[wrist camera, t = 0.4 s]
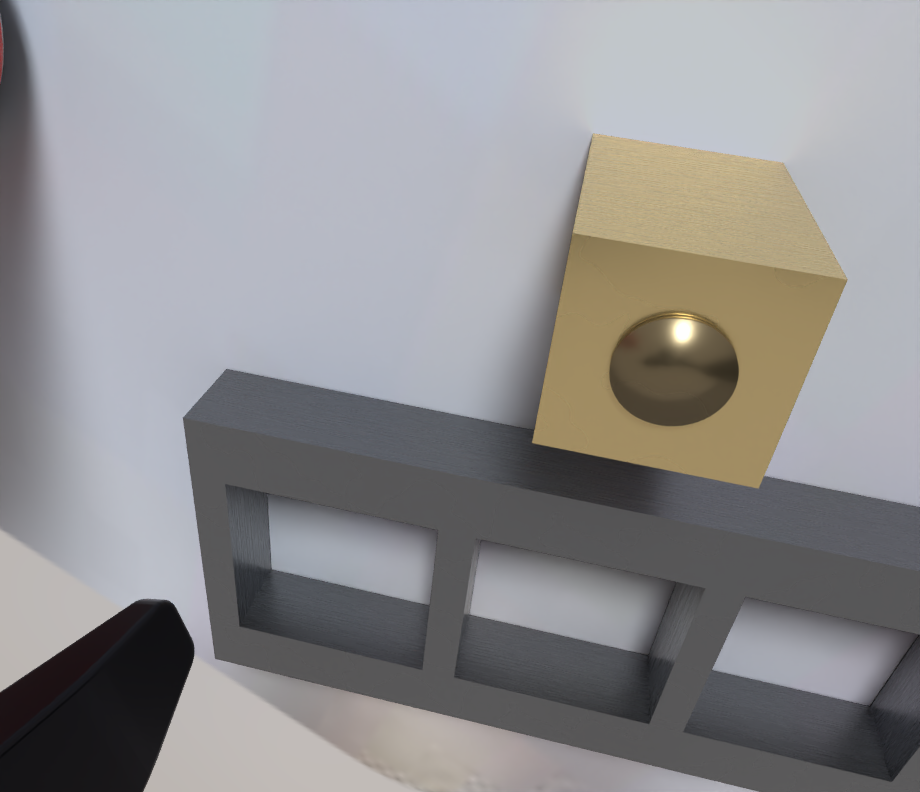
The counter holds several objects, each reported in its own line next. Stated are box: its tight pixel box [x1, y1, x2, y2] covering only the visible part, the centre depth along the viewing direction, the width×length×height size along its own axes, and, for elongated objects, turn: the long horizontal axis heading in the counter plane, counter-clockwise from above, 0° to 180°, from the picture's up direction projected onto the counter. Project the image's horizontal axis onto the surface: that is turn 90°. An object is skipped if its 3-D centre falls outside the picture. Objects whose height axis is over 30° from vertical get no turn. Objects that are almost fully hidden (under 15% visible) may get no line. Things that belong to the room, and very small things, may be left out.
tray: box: [183, 369, 920, 792], centre depth 22 cm, size 22×10×2 cm, turn 83°
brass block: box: [532, 134, 847, 489], centre depth 15 cm, size 4×4×6 cm
